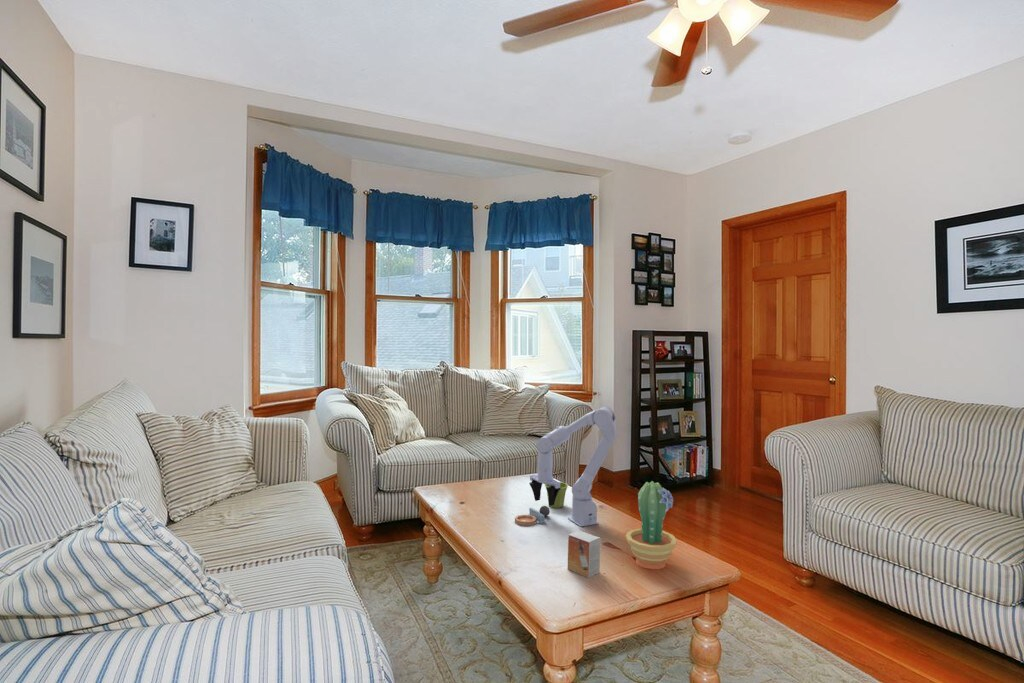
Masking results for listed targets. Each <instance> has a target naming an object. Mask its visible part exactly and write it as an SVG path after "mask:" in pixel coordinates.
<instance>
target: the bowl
mask: <svg viewBox="0 0 1024 683" xmlns="http://www.w3.org/2000/svg"><path fill="white" fill-rule="evenodd" d="M514 522H515V524H517V525H518V526H524V527H525V526H526V527H529V526H534V525H535V524H536V523H537V520H536V517H534V516H532V515H529V514H520V515H517V516H515V517H514Z"/></svg>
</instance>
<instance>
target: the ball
mask: <svg viewBox="0 0 1024 683" xmlns="http://www.w3.org/2000/svg"><path fill="white" fill-rule="evenodd" d="M538 512H539V513H541V514H543V515H544V518H545V517H549V515H550V513H551V512H550V508H549V507H548V506H547V505H542V506H541V507H540V508H539V511H538Z"/></svg>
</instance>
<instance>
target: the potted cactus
mask: <svg viewBox="0 0 1024 683" xmlns="http://www.w3.org/2000/svg"><path fill="white" fill-rule="evenodd" d="M637 503H638V513H639V514H640V515H639V516H640V518H641V528H636V529H631V530H629V531H627V533H626V534H625V539H626V541H627V543H628V544H629V547H630V549H631V552H632V553H633V555H634V557H635V558H636V559H635V563H636V564H637V565H638V566H639V567H641V568H645V569H647V570H661V569H664V568H666V565H667V563H666V561H667V560H668V559H669V558H670V557H671V555H672V552H673V550H674V549H675V547H676V545H677V543H678V539H677V537H675V536H674V535H673V534H671V533H670V532H667V531H665V530H663V526H664V520H665V517H666V515H667V512H668V511H669V509H670V508H671V509H672V508H673V505H674V497H673V496H672V493H671V492H670V490H667V489H666V488H664V487H662V485H661V484H660V483H659V482H654V481H653V480H651V481H650V482H648V481H645V483H644V484H643V486H642V487H641V488H640V490H639V491H638V492H637Z"/></svg>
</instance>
